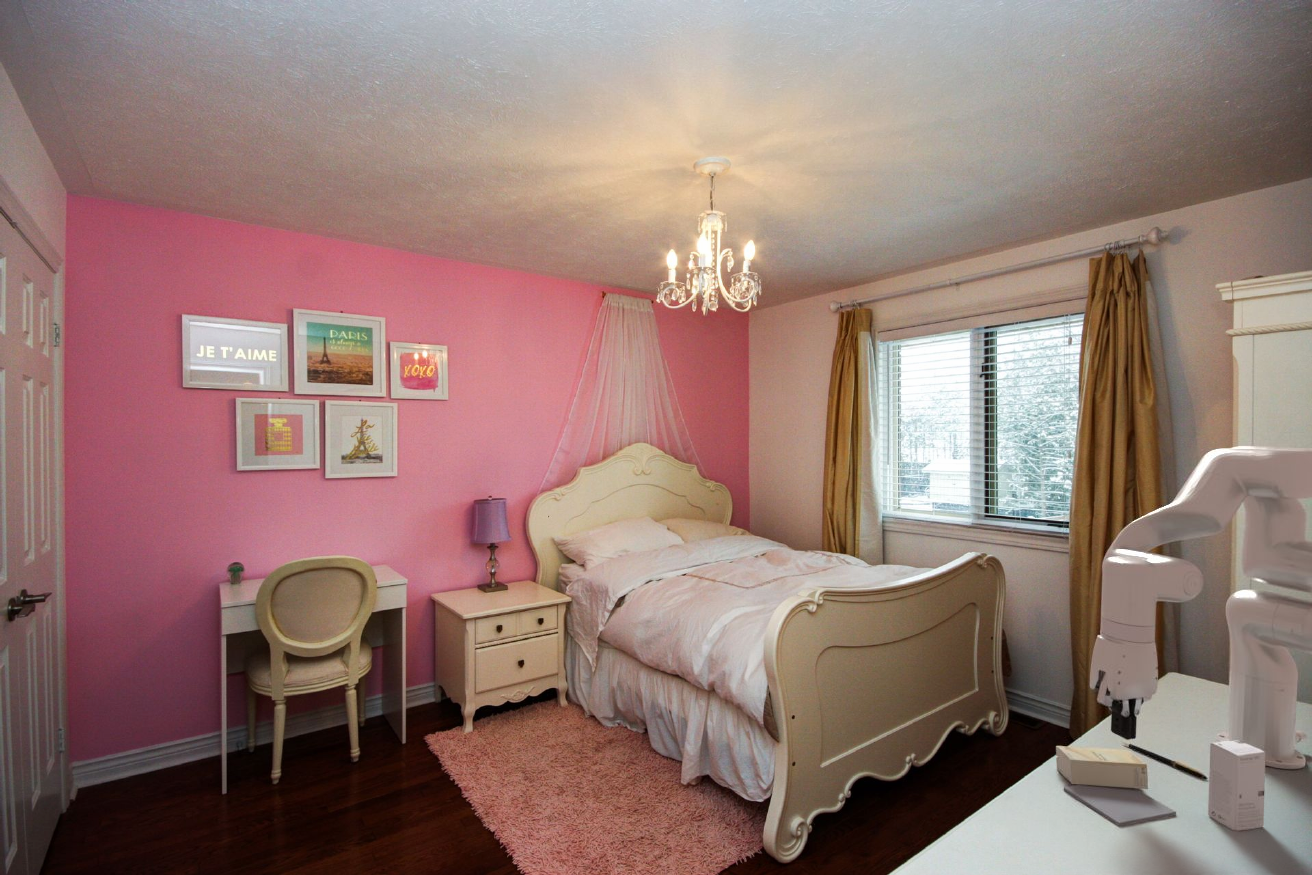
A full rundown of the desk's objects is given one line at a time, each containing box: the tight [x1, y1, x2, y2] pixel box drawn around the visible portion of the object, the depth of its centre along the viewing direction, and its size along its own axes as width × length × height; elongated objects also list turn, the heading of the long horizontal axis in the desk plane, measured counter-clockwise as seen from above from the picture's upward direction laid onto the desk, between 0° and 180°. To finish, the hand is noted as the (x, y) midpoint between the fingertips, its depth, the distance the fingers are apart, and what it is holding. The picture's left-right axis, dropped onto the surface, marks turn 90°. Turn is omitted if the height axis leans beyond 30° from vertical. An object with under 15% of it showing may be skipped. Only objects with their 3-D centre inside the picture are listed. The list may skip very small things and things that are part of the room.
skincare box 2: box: [1207, 740, 1266, 831], centre depth 102 cm, size 6×4×12 cm
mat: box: [1063, 784, 1177, 827], centre depth 107 cm, size 12×10×1 cm
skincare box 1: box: [1055, 745, 1149, 790], centre depth 113 cm, size 6×4×12 cm
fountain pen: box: [1121, 741, 1209, 780], centre depth 121 cm, size 14×1×2 cm, turn 26°
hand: (1123, 735), depth 110 cm, fingers closed
